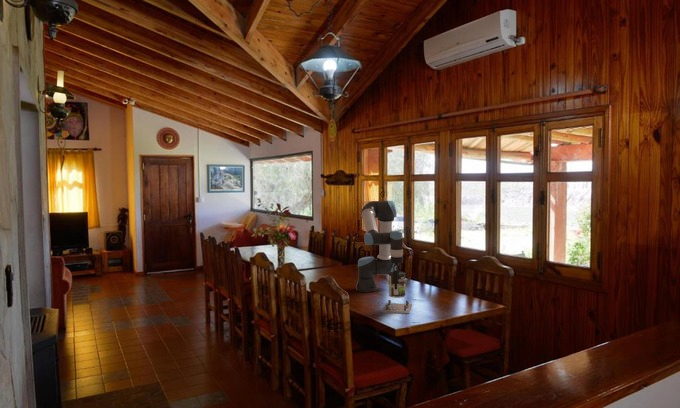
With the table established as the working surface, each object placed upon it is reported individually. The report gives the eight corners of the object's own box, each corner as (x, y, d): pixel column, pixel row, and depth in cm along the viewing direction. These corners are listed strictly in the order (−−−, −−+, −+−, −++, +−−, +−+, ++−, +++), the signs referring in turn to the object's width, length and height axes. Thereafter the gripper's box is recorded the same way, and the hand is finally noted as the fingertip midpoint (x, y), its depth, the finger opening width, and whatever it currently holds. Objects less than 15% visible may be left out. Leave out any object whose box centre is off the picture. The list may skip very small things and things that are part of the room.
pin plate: (386, 305, 314) (386, 299, 313) (411, 306, 310) (411, 300, 310) (382, 312, 298) (382, 305, 298) (409, 313, 294) (409, 306, 294)
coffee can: (409, 295, 302) (409, 272, 302) (396, 298, 296) (396, 275, 296) (397, 293, 311) (397, 270, 310) (385, 295, 305) (384, 272, 304)
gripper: (392, 253, 314) (393, 288, 315) (387, 259, 292) (388, 296, 293) (404, 253, 312) (405, 288, 313) (400, 259, 290) (401, 297, 292)
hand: (397, 292), depth 303 cm, fingers closed on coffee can, 10 cm apart
